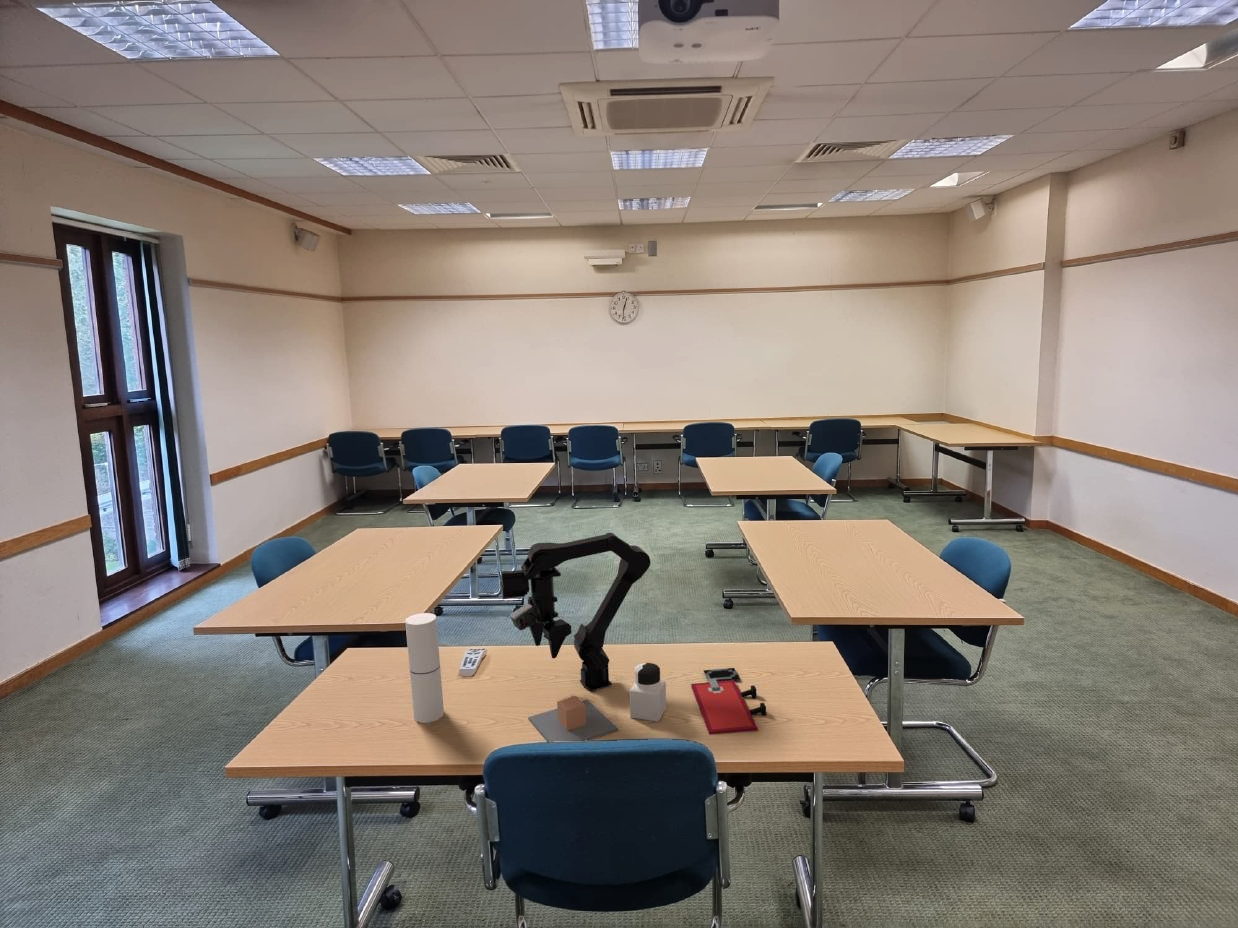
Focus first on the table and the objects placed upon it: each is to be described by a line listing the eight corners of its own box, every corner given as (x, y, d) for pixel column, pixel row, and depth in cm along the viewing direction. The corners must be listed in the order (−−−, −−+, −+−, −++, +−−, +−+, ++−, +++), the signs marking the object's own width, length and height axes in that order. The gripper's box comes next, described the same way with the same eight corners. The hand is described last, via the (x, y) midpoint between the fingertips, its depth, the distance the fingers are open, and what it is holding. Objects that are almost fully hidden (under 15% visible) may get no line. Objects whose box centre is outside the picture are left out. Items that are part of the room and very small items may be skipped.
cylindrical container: (417, 725, 168) (408, 626, 163) (411, 712, 174) (402, 616, 170) (447, 717, 171) (439, 620, 167) (440, 704, 177) (432, 610, 173)
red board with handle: (740, 670, 191) (686, 674, 190) (740, 660, 190) (686, 665, 189) (773, 731, 161) (709, 737, 160) (773, 720, 161) (709, 726, 160)
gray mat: (587, 700, 177) (587, 699, 177) (618, 730, 163) (618, 728, 163) (528, 719, 169) (528, 717, 169) (555, 751, 155) (555, 749, 155)
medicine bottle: (666, 707, 172) (665, 661, 170) (658, 722, 166) (657, 674, 164) (638, 703, 175) (637, 658, 173) (629, 717, 168) (628, 671, 166)
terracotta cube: (577, 714, 169) (576, 695, 168) (586, 724, 165) (585, 704, 164) (558, 720, 167) (557, 701, 166) (567, 730, 163) (566, 710, 162)
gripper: (498, 590, 181) (502, 647, 184) (529, 612, 166) (533, 673, 168) (537, 581, 187) (540, 636, 190) (571, 601, 172) (574, 661, 174)
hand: (545, 651), depth 180 cm, fingers open, 9 cm apart
